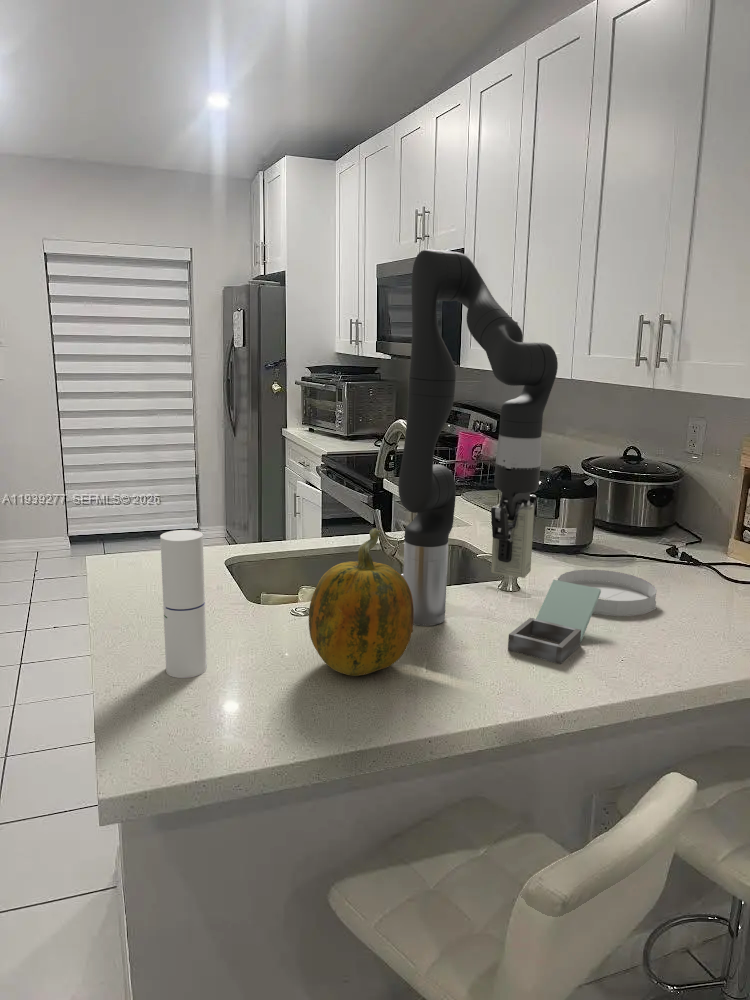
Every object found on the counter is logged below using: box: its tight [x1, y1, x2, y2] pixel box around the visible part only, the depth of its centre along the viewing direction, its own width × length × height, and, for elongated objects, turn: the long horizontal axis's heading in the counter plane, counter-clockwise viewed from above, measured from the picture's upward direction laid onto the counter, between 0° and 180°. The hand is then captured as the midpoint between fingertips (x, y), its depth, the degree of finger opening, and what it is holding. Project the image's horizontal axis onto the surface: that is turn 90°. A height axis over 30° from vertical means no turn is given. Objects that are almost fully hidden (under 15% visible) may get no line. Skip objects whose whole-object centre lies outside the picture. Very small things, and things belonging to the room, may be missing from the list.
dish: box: [557, 569, 657, 617], centre depth 173 cm, size 22×22×5 cm
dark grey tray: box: [507, 617, 581, 665], centre depth 150 cm, size 20×28×4 cm
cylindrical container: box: [159, 529, 208, 679], centre depth 133 cm, size 7×7×25 cm
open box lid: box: [535, 579, 601, 644], centre depth 154 cm, size 10×13×1 cm
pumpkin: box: [308, 527, 414, 677], centre depth 135 cm, size 19×19×25 cm
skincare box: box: [490, 502, 535, 579], centre depth 131 cm, size 6×4×12 cm
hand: (510, 557), depth 132 cm, fingers closed on skincare box, 4 cm apart
